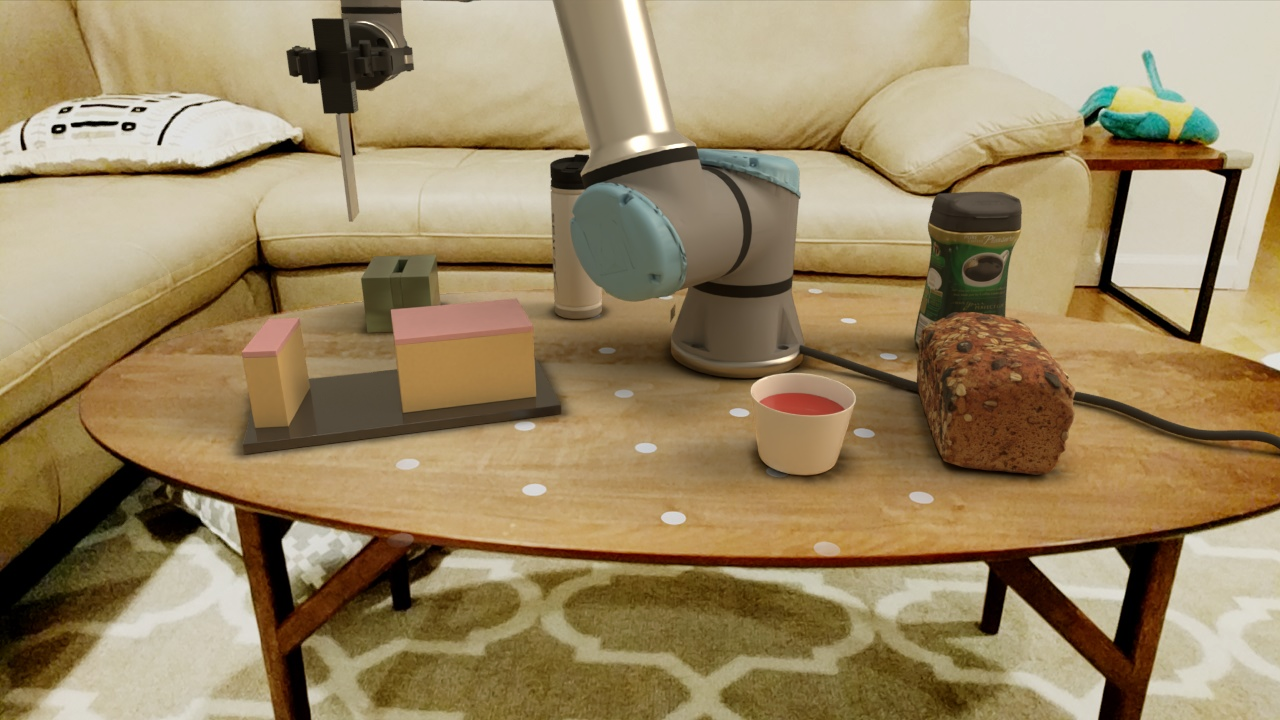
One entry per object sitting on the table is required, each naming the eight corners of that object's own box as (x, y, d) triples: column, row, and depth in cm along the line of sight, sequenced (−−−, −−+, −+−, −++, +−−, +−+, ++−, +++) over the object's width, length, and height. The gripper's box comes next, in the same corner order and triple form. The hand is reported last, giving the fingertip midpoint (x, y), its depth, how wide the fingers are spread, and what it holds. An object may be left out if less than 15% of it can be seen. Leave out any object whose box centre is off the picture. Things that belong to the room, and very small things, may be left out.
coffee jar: (979, 336, 106) (1003, 184, 99) (1011, 360, 99) (1040, 198, 92) (903, 338, 105) (922, 186, 98) (929, 363, 98) (952, 200, 91)
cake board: (534, 362, 98) (534, 354, 97) (561, 414, 85) (561, 404, 85) (258, 393, 90) (257, 384, 89) (244, 454, 77) (242, 444, 77)
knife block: (440, 304, 117) (436, 254, 114) (433, 330, 107) (428, 276, 105) (379, 307, 116) (373, 256, 113) (367, 332, 106) (360, 278, 104)
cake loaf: (520, 364, 95) (517, 298, 92) (536, 397, 87) (533, 325, 84) (398, 377, 91) (390, 309, 88) (402, 413, 83) (394, 339, 80)
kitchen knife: (371, 212, 96) (349, 18, 88) (365, 221, 92) (341, 18, 84) (343, 212, 95) (318, 17, 88) (336, 222, 91) (309, 18, 84)
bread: (1062, 481, 74) (1086, 373, 70) (932, 470, 75) (948, 364, 72) (1014, 392, 91) (1031, 302, 87) (909, 385, 92) (921, 295, 89)
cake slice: (310, 387, 89) (299, 317, 86) (288, 426, 80) (276, 350, 78) (279, 388, 88) (268, 318, 85) (255, 428, 80) (241, 351, 77)
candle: (812, 495, 71) (819, 426, 69) (726, 458, 77) (729, 394, 75) (867, 457, 77) (875, 392, 75) (784, 425, 83) (788, 365, 81)
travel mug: (608, 305, 117) (606, 155, 109) (594, 321, 111) (592, 163, 103) (563, 302, 118) (559, 153, 110) (548, 317, 112) (542, 161, 104)
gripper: (434, 87, 106) (414, 108, 85) (298, 88, 104) (243, 109, 83) (429, 22, 104) (407, 26, 82) (289, 21, 102) (229, 25, 80)
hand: (325, 68), depth 83 cm, fingers closed on kitchen knife, 3 cm apart
